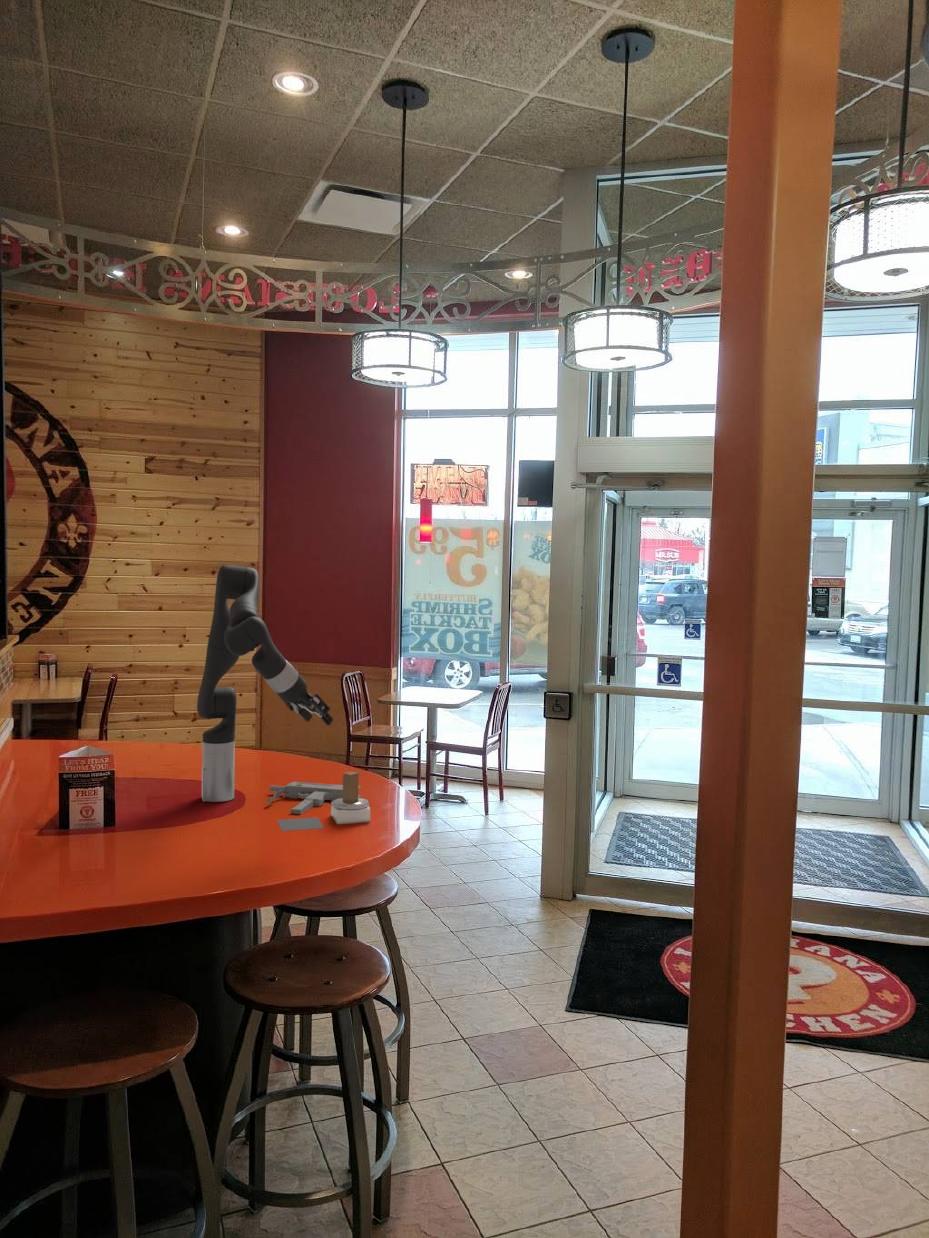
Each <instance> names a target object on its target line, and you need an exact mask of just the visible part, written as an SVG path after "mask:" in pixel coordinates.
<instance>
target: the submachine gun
mask: <svg viewBox="0 0 929 1238" xmlns="http://www.w3.org/2000/svg"><path fill="white" fill-rule="evenodd" d="M361 788H362V786H361V785H359V784H358V791H359V790H360V789H361ZM269 791H270V792H274V794H273V797H272V796H270V797H269V798H268V799H267V800H266V803H265V806H267V805H269V804H270V803H272V802H273V801H275V800H277V798H280V797H282V798H283V799H284V798H286V797H289V798H288V799H297V798H301V799H300V800H302V801H301V802H299V803H298V804H297V805H296V806H294V807H292V808H290V814H291V815H292V814H294V815H295V814H296V815H302V814H303V813H305V812H306V811H309V810H310V809H311V808H313V807H321V806H323V805H324V802H326V801H325V800H330V801H329V802H332V801H334V800H336V799H340V798H343V784H332V783H331V784H329V783H316V782H306V781H305V782H303V781H292V782H289V783H288V784H287V785H283V786H282V785H270V786H269ZM282 793H283V794H282ZM361 797H362V795H361V794H359V793H358V798H361Z"/></svg>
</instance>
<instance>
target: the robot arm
mask: <svg viewBox="0 0 929 1238" xmlns="http://www.w3.org/2000/svg"><path fill="white" fill-rule="evenodd" d="M215 583H216V584H215V591H214V592H215V593H214V603H213V604H214V606H213V612H212V613H213V614H212V620H211V626H210V631H209V636H208V641H207V647H206V655H205V662H204V663H205V664H204V669H203V674H202V679H201V682H200V686H199V690H198V695H197V700H196V701H197V702H196V704H197V705H196V709H197V710H196V711H197V714H198V716H199V717H200V718H201V719H205V720H206V719H207V720H214V719H221V721H220V722H218V724H217V725H215V726H213V727H212V728H208V729H206V730H205V731H203V733H202V738H201V739H202V748H201V749H202V753H201V755H202V762H201V763H202V765H201V800H202V802H211V803H219V802H220V803H221V802H228V801H231V800H234V799H235V763H236V762H235V754H236V753H235V751H236V750H235V748H236V745H235V742H236V741H235V740H236V739H235V738H236V737H235V736H236V719H237V718H236V716H237V692H236V690H235V689H234V688H233V687H231V686H217V685H218V683H219V682H220V680H221V679H222V678H223V677H224V676H225V675H226V674H227V673H228V672H229V671H230V670H231V669H232V668H233V667H234V666H235V665H236V663H237V662H238V660H239V659H240V657H242V656H245V655H247V654H248V653H250V652H252V651H253V650H254V649H256V648H258V647H259V646H260V648H258V649H257V650H256V651H255V653H254V654H253V655H252V658H251V665H252V666H253V667H254V669H255V670H256V671H257V672H258V673H259V674H260V675H261V676H262V678H263V679H264V680H265V682H266V684H267V685H268V686H269V688H271V689H272V690H273V692H274V693H275V694H276V695H277V696H278V697H279V698H280V700H281V701H282V702H283V703H284V704H285V706H286V707H287V709H289V711H291V712H295V713H296V714H299V716H300V718H301V717H302V719H303V720H304V722H310V720H311V719H312V718H313V715H312V714H315V715H317V716H318V717H319V718H320V719H321V721H322V722H323V723H324V724H325V725H326V726H330V725H331V724H332V723H333V721H334V718H333V717H332V716H331V715H330V713H329V712H330V710H331V708H330V706H329V705H328V704H327V703H326V702H325V701H324V700H323V699H322V698H321V697H320V695H319V694H314V696H313V695H312V694H311V693H309V691H308V683H307V681H306V680H305V679H304V678H303V676H302V675H300V673H299V672H298V671H297V669H296V667H294V666H293V665H292V664H291V663H290V662H289V661H288V660H287V659H286V658H285V657H284V656H283V655H282V653H281V652H280V651H279V649H278V648H277V647H276V645H275V644H274V642H273V640H272V637H271V634H270V632H269V629H268V627H267V625H266V623H265V621H264V620H263V619H261V618H260V617H259V612H258V611H259V610H258V605H259V597H260V595H259V594H260V576H259V572H258V571H257V570H256V569H255V568H254V567H249V566H242V565H241V566H240V565H232V564H223V565H221V566H220V568H219V569H218V572H217V575H216V582H215ZM228 600H233V602H232V603H231V605H230V607H229V605H228V603H227V602H228ZM312 707H313V708H312Z"/></svg>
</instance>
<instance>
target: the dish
mask: <svg viewBox="0 0 929 1238" xmlns="http://www.w3.org/2000/svg"><path fill="white" fill-rule="evenodd" d="M330 804H331V805H330V806H331V807H330V816H331V818H332V819H333V821H334V822H335V823H336V824H337V825H343V824H344V825H345V824H358V823H359V824H360V823H371V807H370V805H369V806H368V807H367V808H364V809H360V810H339V809H335V808H333V807H332V802H330Z"/></svg>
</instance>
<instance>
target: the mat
mask: <svg viewBox="0 0 929 1238" xmlns="http://www.w3.org/2000/svg"><path fill="white" fill-rule="evenodd" d="M276 821H277V824H278V825H279V829H280V830H281V832H290V831H291V832H292V831H302V830H304V831H305V830H306V831H307V830H318V829H319V830H320V829H325V826H324V824H322V821H320V818H319V817H317V816H315V817H302V818H301V817H300V818H287V819H276Z"/></svg>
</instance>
